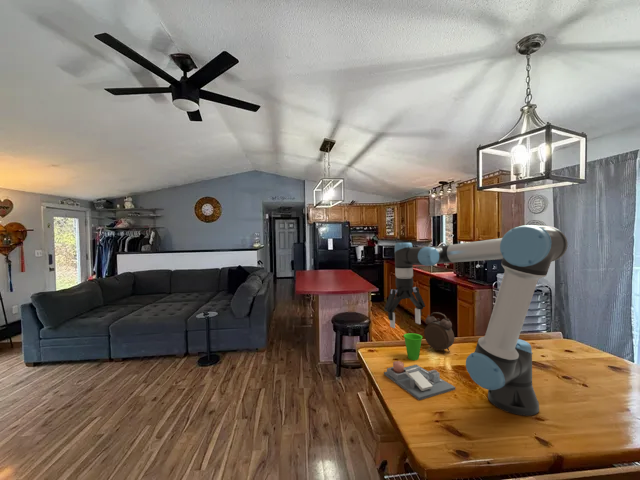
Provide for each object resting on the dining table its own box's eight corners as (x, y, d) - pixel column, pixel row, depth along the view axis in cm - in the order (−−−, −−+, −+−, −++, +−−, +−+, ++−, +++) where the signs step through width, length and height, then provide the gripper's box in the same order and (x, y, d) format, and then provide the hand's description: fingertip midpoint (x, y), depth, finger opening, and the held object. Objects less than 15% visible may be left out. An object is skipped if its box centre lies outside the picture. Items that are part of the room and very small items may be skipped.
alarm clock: (456, 352, 147) (455, 314, 147) (448, 356, 142) (448, 316, 142) (430, 344, 158) (430, 309, 158) (423, 348, 154) (422, 311, 154)
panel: (455, 389, 112) (455, 378, 112) (419, 400, 105) (418, 388, 105) (416, 366, 132) (416, 357, 132) (384, 374, 125) (383, 364, 125)
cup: (419, 363, 135) (419, 340, 135) (401, 359, 140) (400, 337, 140) (425, 357, 142) (425, 335, 142) (407, 353, 148) (407, 332, 148)
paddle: (432, 388, 110) (432, 385, 110) (421, 391, 108) (422, 388, 108) (414, 370, 119) (415, 367, 119) (405, 372, 117) (405, 369, 117)
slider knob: (439, 381, 116) (439, 371, 116) (434, 383, 115) (433, 373, 115) (434, 378, 119) (434, 368, 119) (428, 379, 117) (428, 370, 117)
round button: (406, 372, 121) (405, 364, 121) (397, 374, 119) (397, 366, 119) (399, 368, 125) (399, 360, 125) (391, 369, 123) (391, 362, 123)
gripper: (421, 274, 134) (422, 319, 134) (375, 278, 125) (376, 326, 125) (432, 276, 127) (434, 323, 127) (385, 280, 118) (386, 331, 118)
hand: (405, 325), depth 126 cm, fingers open, 13 cm apart
